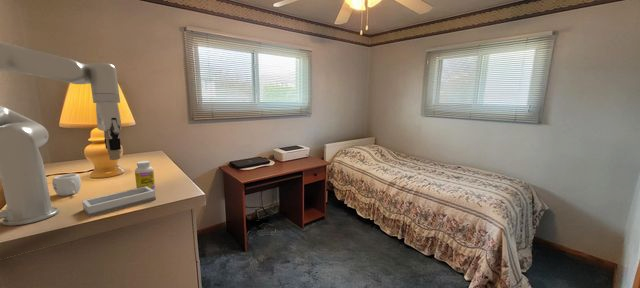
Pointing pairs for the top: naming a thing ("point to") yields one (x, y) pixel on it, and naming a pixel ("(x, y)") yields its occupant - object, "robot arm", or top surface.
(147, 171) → the supplement bottle
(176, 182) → the top surface
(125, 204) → the track
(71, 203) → the top surface
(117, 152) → the handle
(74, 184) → the mug
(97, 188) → the top surface
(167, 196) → the top surface
